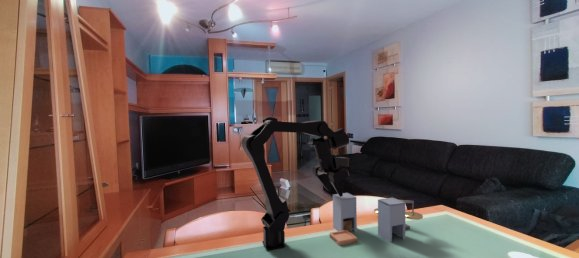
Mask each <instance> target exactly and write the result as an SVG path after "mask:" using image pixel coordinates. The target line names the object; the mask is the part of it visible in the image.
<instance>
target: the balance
mask: <svg viewBox="0 0 579 258" xmlns="http://www.w3.org/2000/svg"><path fill="white" fill-rule="evenodd" d="M399 200H400V201H402V202H405V204H411V205H412V206H411V207H412V210H411V211H405V219H409V220H414V221H415V220H416V221H417V220H423V217H424V216H423V214H422V213H420V212H416V211H414V207H415V206H414V205H415V201H414V200H410V199H409V200H408V199H407V200H405V199H399ZM373 213H375V214H377V215H378V207H377V208H374V209H373ZM406 230H411V226H410V225H409V224H407V223H405V231H406Z"/></svg>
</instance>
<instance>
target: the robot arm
mask: <svg viewBox="0 0 579 258" xmlns="http://www.w3.org/2000/svg"><path fill="white" fill-rule="evenodd" d="M274 133H297V134H299V133H301V134H305V135H308V136H313V137H311V138H310V139H309V141H308V142H307V145H308V146H313V147H314V150H315V154H316V157H315V161H316V162H318V164H317V165H315V166H313V167H312V168H311V172H312V174H313V175H314V177H315V178H316V179H318V181H319V182H320V183H321V185H322V186H323V187H324V189H326V191H327V192H330V191H331V186H332V187H333V189H334V190H335V192H336V194H338V195H339V196H340V197H341V196H343V193H344V183H345V181H346V180H347V179H348V178H349V177H350V176H351V175H350V173H349V170H348V169H346V168H347V167H349V166H350V158H349V157H345V156H341V155H340V154H339V153H337V154H336V153H333V151H332V150H337V149H340V148H343V147H345V146H348V145H349V144H350V137H349V136H348V134H347V132H345V131H344V128H338V129H336V130H332V128H331V127H329V125H328V123H327V121H325V120H308V121H303V122H297V121H296V122H295V121H293V122H292V121H282V120H281V121H278V120H273V119H268V120H267V119H266V120H264V122H263V123H262V124H261V125H260V126H259V127H257V128H256V129H254V130H253V131H252V132H251V133H249V134H246V135H244V136H243V138H242V139H241V142H240V145H241V147H242V149H243V151H244V152H245V154H246V155H247V157H248V158H249V160H250V162H251V164H252V165H253V168H254V171H255V173H256V176H257V178H258V182H259V184H260V187H261V190H262V192H263V195H264V197H265V208H266V212H265V214H263V216H262V217H261V218H260V221H261V223H262V224H263V229H262V230H263V233H262V235H263V240H262V245H263V247H264V248H265V251H271V250H275V249H283V248H285V247H286V245H285V242H286V241H285V239H286V238H285V234H286V233H285V228H286V224H287V223H288V220H289V218H290V212H291V210H290V208H289V207H288V203H287V200H286V199H284V198H282V197H281V196H279V194H278V192H277V189H276V186H275V183H274V180H273V179H272V174H271V173H270V170H269V166H268V164H267V162H266V151H265V150H266V149H265V144H266V143H267V142H268V141H270V138H271V137H272V135H273V134H274ZM315 137H318V138H315ZM343 167H346V168H343Z"/></svg>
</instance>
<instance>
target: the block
mask: <svg viewBox="0 0 579 258" xmlns="http://www.w3.org/2000/svg"><path fill="white" fill-rule="evenodd" d="M343 230H348V231H349V232H351V231H353V229H352V220H351V219H349V218H346V219H343Z"/></svg>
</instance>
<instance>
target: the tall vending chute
mask: <svg viewBox="0 0 579 258" xmlns="http://www.w3.org/2000/svg"><path fill="white" fill-rule="evenodd" d="M357 212H358V211H357V196H355V195H353V194H351V193H350V192H343V196H341V197H340V196H339V195H338V193H334V194H333V193H332V228H334V229H335V230H336V231H342V230H343V219H346V218H349V219H351V220H352V231H354V232H357V228H358V227H357V224H358V223H357V221H358V220H357V219H358V218H357V216H358V215H357Z"/></svg>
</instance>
